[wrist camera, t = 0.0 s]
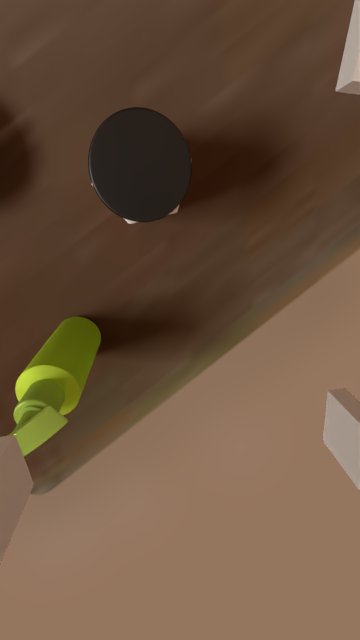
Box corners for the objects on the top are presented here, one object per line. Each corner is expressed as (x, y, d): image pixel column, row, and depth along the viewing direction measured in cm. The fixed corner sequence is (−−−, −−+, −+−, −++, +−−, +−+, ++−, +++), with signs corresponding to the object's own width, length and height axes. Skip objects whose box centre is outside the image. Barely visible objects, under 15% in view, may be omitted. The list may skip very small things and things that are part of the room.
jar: (195, 185, 35) (216, 175, 24) (146, 234, 36) (145, 247, 25) (141, 119, 32) (136, 72, 21) (90, 175, 34) (60, 159, 22)
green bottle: (115, 335, 41) (86, 442, 22) (78, 363, 42) (19, 489, 23) (85, 303, 39) (25, 391, 20) (47, 334, 40) (-45, 444, 21)
